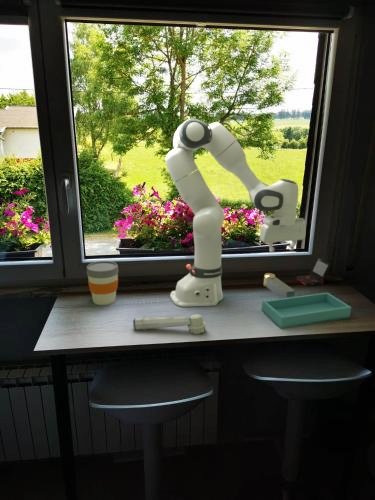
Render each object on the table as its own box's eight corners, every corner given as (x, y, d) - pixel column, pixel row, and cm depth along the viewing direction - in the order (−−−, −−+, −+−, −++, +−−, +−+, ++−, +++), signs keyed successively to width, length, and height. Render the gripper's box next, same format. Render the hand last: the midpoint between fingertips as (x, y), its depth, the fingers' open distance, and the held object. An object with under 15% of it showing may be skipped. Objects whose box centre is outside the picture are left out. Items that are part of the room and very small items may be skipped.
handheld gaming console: (294, 279, 177) (297, 259, 174) (316, 276, 180) (318, 257, 177) (306, 286, 168) (309, 266, 165) (328, 283, 172) (331, 263, 169)
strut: (294, 300, 154) (296, 289, 152) (285, 301, 152) (286, 290, 151) (270, 282, 172) (271, 272, 170) (261, 283, 170) (262, 273, 169)
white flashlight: (135, 315, 131) (204, 309, 129) (138, 331, 133) (206, 326, 131) (132, 322, 126) (204, 316, 124) (135, 339, 128) (206, 333, 126)
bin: (280, 329, 131) (281, 317, 130) (261, 311, 144) (262, 301, 142) (349, 317, 140) (351, 307, 138) (325, 302, 152) (327, 292, 151)
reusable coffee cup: (112, 291, 159) (111, 258, 155) (124, 302, 149) (123, 267, 145) (84, 297, 153) (81, 264, 148) (94, 309, 143) (92, 273, 138)
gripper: (301, 216, 158) (298, 246, 162) (259, 218, 152) (256, 250, 156) (310, 219, 152) (306, 251, 156) (267, 222, 146) (264, 254, 150)
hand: (281, 250), depth 156 cm, fingers open, 8 cm apart
